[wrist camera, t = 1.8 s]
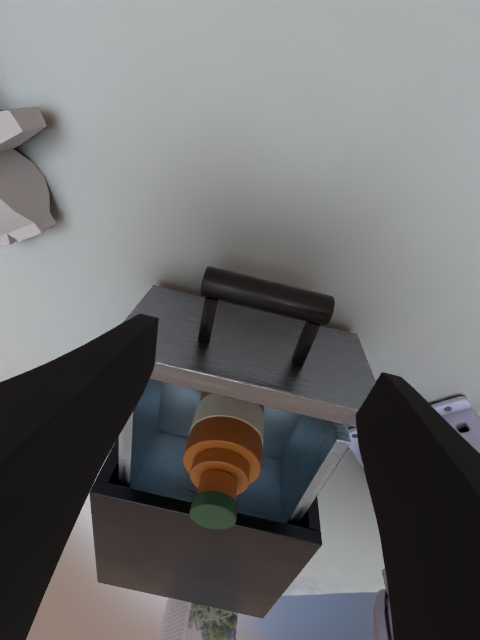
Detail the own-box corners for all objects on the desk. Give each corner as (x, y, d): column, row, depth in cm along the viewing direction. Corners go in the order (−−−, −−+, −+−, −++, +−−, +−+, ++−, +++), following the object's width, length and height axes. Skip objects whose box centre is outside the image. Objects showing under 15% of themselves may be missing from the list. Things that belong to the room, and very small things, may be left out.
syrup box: (181, 532, 38) (135, 722, 26) (207, 516, 36) (170, 719, 23) (218, 550, 40) (191, 738, 27) (246, 535, 37) (230, 737, 25)
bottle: (243, 358, 20) (224, 482, 13) (277, 401, 22) (276, 532, 15) (190, 381, 22) (148, 503, 15) (225, 420, 24) (202, 546, 17)
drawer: (157, 223, 17) (97, 268, 12) (385, 279, 18) (437, 350, 12) (143, 422, 27) (106, 502, 21) (294, 457, 27) (298, 545, 21)
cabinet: (142, 390, 26) (88, 492, 19) (310, 430, 26) (322, 544, 19) (136, 484, 34) (97, 582, 26) (266, 514, 34) (263, 618, 27)
